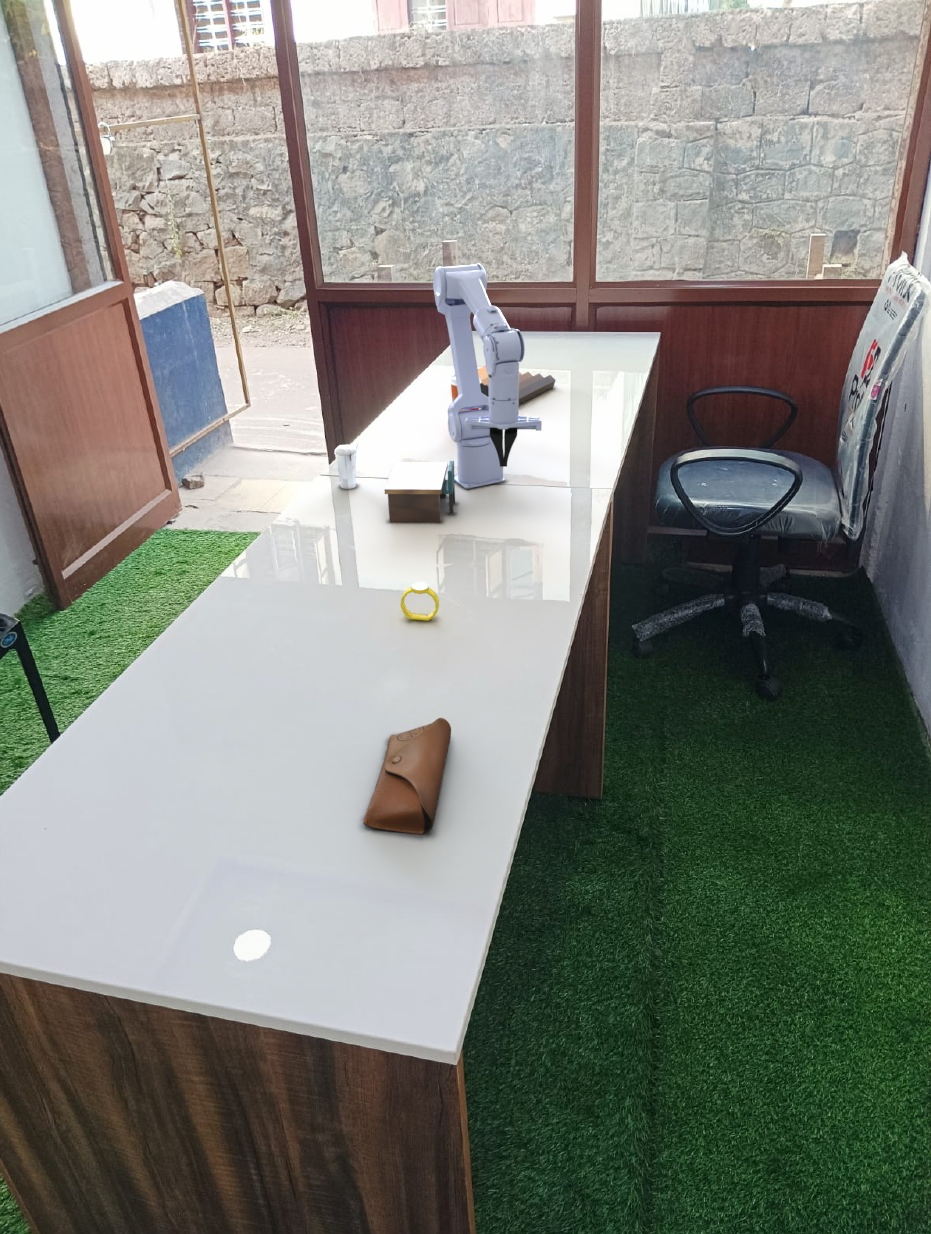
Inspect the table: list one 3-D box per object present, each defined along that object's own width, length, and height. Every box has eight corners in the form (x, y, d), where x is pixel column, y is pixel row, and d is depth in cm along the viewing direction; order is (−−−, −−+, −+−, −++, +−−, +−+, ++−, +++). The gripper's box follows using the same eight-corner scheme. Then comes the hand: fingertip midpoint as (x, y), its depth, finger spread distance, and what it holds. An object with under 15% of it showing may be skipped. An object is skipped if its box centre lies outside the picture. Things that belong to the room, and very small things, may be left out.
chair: (455, 502, 188) (453, 460, 184) (452, 514, 183) (451, 471, 178) (418, 502, 189) (416, 460, 184) (415, 513, 183) (413, 471, 179)
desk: (448, 495, 192) (447, 462, 189) (442, 524, 179) (441, 489, 176) (396, 494, 193) (394, 462, 189) (386, 523, 180) (384, 489, 176)
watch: (400, 622, 146) (398, 589, 143) (403, 613, 148) (401, 581, 145) (437, 623, 145) (436, 590, 142) (440, 615, 148) (438, 582, 145)
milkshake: (358, 491, 195) (355, 446, 190) (335, 489, 196) (330, 444, 191) (365, 483, 199) (361, 438, 194) (341, 482, 200) (337, 437, 195)
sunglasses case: (386, 732, 120) (410, 697, 116) (433, 756, 121) (458, 722, 118) (360, 828, 104) (386, 790, 101) (414, 854, 105) (442, 818, 102)
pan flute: (511, 410, 243) (555, 387, 261) (511, 397, 241) (555, 375, 260) (434, 397, 255) (481, 376, 273) (433, 385, 253) (480, 364, 271)
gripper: (464, 402, 171) (465, 471, 177) (542, 402, 170) (540, 472, 176) (466, 392, 177) (467, 459, 183) (541, 392, 176) (540, 459, 183)
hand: (503, 464), depth 180 cm, fingers closed
